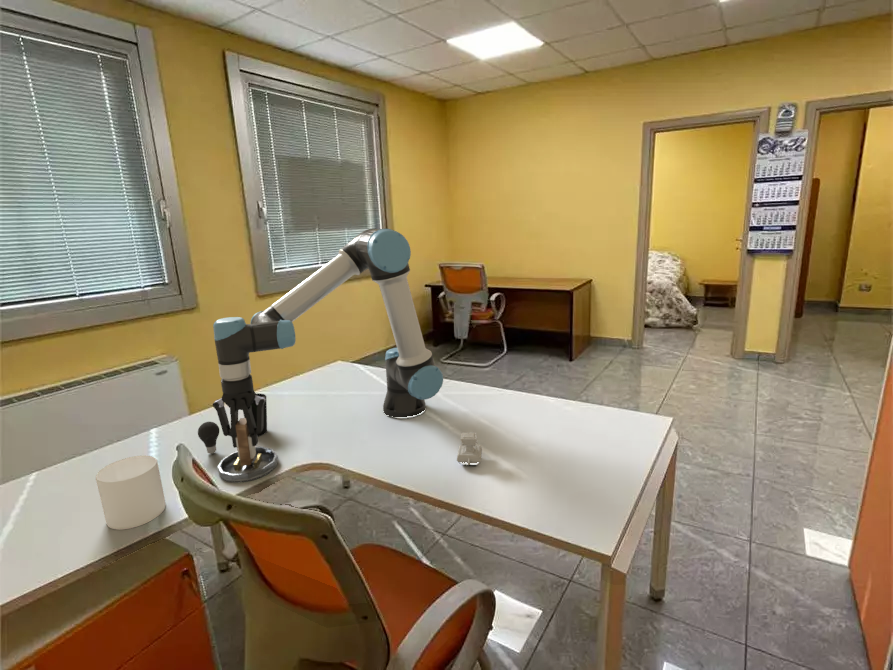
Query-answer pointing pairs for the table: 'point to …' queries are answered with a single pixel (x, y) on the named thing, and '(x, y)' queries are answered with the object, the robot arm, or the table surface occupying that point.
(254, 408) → the cup
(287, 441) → the table surface
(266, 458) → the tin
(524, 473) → the table surface
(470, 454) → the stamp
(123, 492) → the cup
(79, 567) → the table surface
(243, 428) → the tapered wood plank
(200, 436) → the light bulb
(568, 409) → the table surface
